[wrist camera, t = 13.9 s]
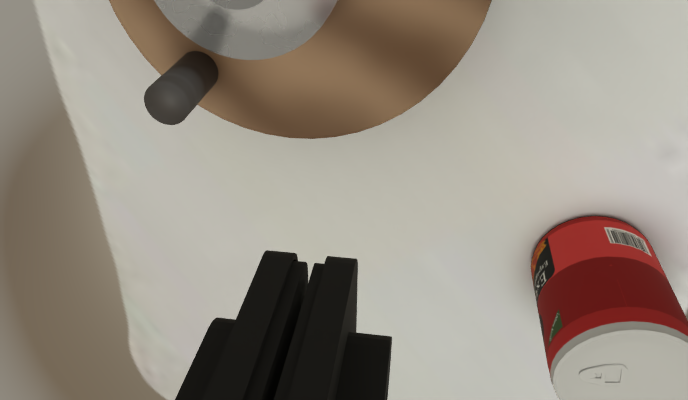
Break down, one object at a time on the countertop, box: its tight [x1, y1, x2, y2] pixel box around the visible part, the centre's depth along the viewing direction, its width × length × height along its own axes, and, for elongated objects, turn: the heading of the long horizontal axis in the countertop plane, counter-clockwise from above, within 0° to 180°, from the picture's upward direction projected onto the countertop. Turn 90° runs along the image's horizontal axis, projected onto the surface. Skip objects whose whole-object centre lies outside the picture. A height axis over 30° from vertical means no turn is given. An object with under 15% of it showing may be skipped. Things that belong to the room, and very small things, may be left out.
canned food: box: [531, 216, 688, 400], centre depth 37 cm, size 8×8×11 cm
